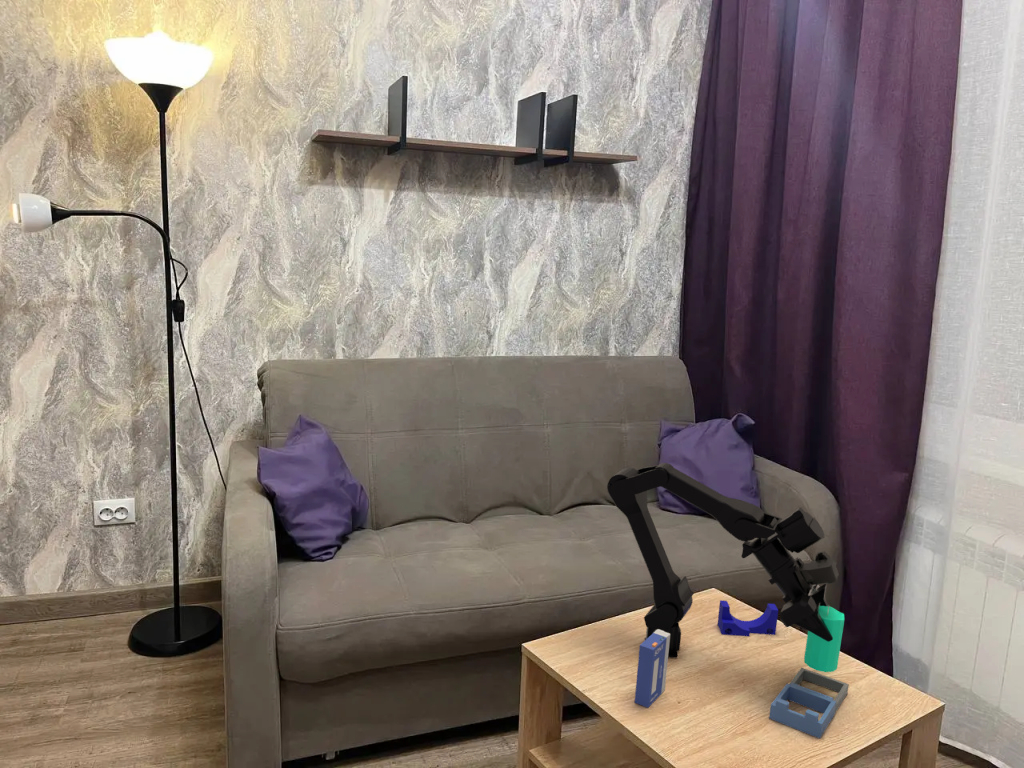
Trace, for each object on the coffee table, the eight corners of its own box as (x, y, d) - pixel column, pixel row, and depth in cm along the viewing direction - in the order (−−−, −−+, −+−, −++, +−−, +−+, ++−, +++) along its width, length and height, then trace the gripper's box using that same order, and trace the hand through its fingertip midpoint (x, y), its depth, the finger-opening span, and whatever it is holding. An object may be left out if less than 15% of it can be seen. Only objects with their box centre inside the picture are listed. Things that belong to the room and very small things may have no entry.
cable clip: (721, 635, 177) (724, 609, 176) (717, 625, 182) (720, 600, 181) (777, 639, 177) (780, 613, 176) (771, 628, 181) (774, 604, 180)
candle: (821, 675, 151) (830, 615, 148) (796, 658, 156) (805, 600, 153) (844, 668, 153) (853, 609, 151) (819, 652, 158) (827, 595, 156)
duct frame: (819, 739, 142) (822, 718, 141) (768, 719, 147) (771, 699, 146) (847, 693, 157) (850, 674, 156) (800, 676, 162) (802, 658, 161)
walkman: (648, 708, 149) (653, 648, 146) (634, 702, 150) (639, 643, 148) (665, 689, 155) (671, 631, 153) (652, 684, 157) (657, 626, 154)
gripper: (807, 560, 143) (865, 635, 141) (821, 528, 160) (874, 594, 157) (756, 590, 149) (811, 663, 146) (775, 555, 165) (825, 621, 162)
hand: (832, 633), depth 153 cm, fingers closed on candle, 5 cm apart
